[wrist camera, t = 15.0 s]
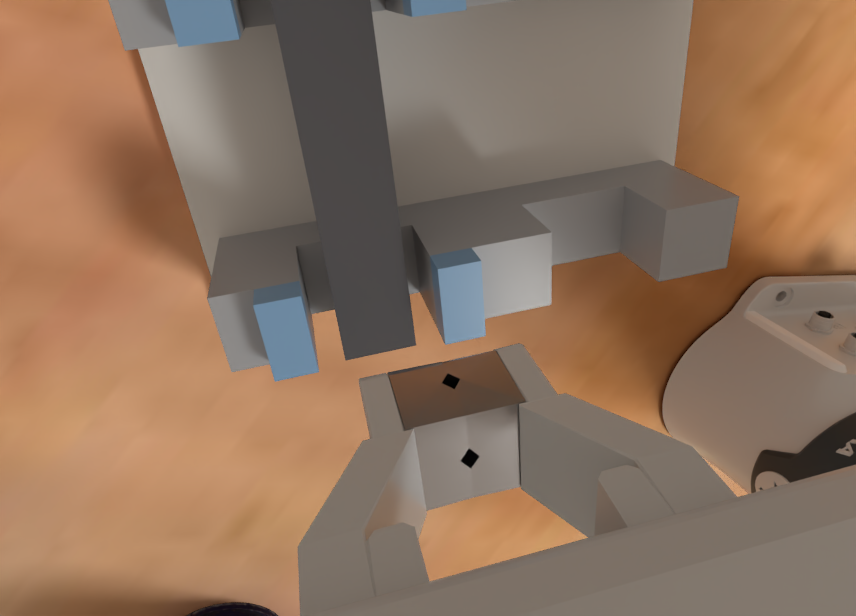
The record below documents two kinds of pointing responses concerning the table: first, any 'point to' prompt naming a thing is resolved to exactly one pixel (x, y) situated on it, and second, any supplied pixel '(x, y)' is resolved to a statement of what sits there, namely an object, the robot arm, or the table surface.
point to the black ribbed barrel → (234, 610)
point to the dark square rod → (348, 167)
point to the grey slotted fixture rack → (436, 156)
